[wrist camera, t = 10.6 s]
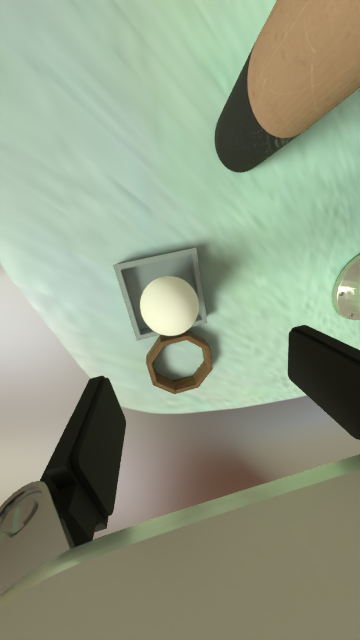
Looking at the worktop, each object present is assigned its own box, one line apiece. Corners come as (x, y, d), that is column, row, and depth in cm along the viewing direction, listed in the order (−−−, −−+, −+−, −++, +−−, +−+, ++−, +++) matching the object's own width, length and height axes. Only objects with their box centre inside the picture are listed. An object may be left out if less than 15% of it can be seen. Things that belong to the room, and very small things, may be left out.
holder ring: (202, 324, 31) (206, 330, 29) (210, 374, 35) (214, 382, 33) (141, 340, 30) (141, 347, 28) (156, 389, 34) (157, 398, 32)
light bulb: (175, 262, 27) (192, 268, 16) (192, 303, 29) (217, 330, 19) (132, 283, 27) (124, 302, 16) (154, 322, 29) (158, 359, 19)
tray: (191, 248, 27) (196, 247, 24) (202, 317, 31) (207, 322, 28) (116, 264, 26) (113, 265, 23) (137, 333, 30) (137, 340, 27)
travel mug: (274, 104, 23) (832, -546, 4) (262, 178, 25) (578, -25, 7) (215, 92, 21) (648, -920, 3) (209, 172, 24) (419, -101, 6)
